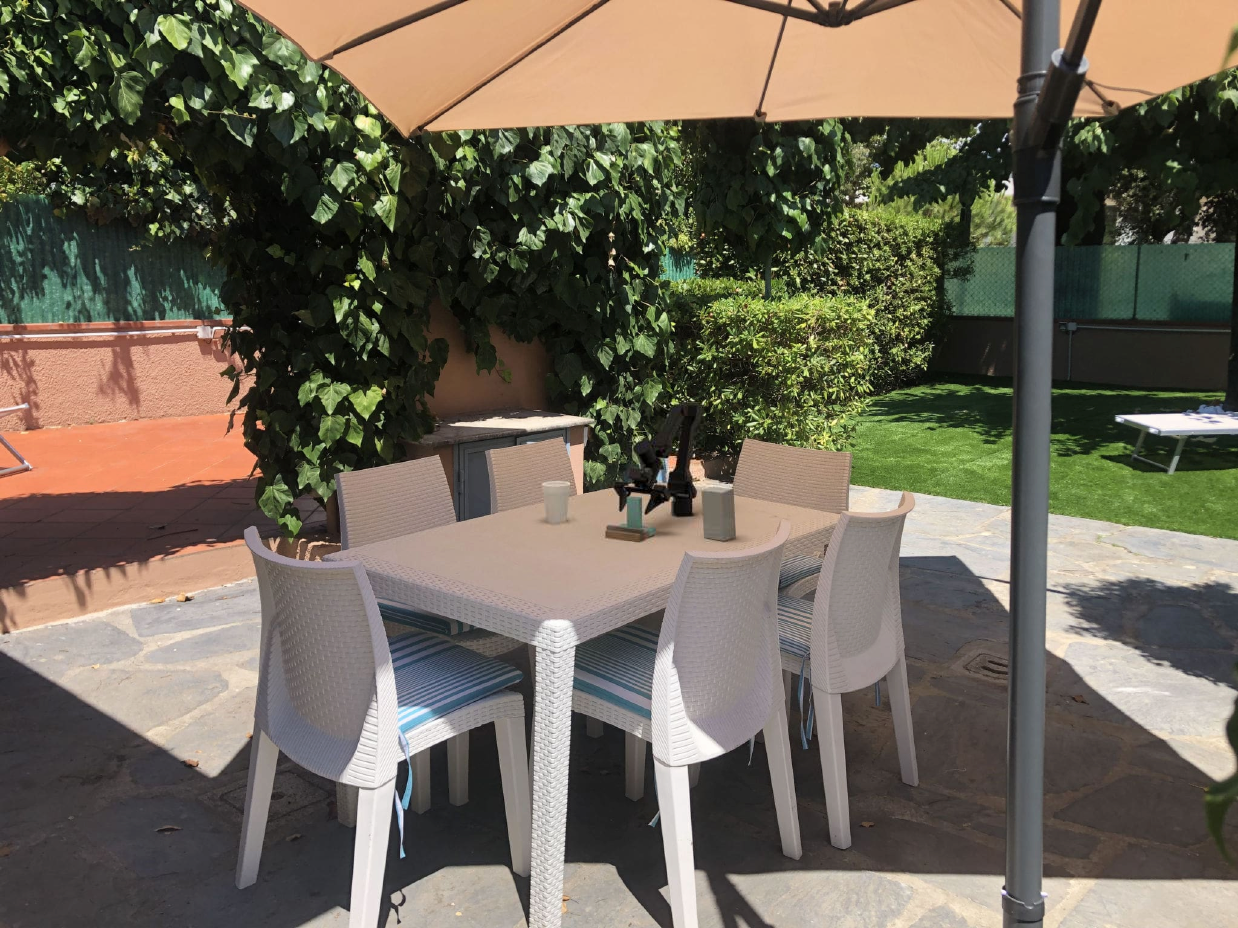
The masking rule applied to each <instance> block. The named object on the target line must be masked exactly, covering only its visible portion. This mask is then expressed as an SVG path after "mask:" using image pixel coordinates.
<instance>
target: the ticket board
mask: <svg viewBox="0 0 1238 928" xmlns="http://www.w3.org/2000/svg"><path fill="white" fill-rule="evenodd" d="M605 529H606V530H605V532H604V534H605V539H611V540H612V539H613V540H620V541H627V542H636V543H640V542H642V541H644V540H647V539H649V538H650V536H649V531H648V530H644V529H638V528H630V527H622V526H618V525H613V524H612V525H611V524H608V525H606V527H605ZM646 538H647V539H646Z"/></svg>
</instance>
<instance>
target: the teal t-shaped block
mask: <svg viewBox="0 0 1238 928" xmlns="http://www.w3.org/2000/svg"><path fill="white" fill-rule="evenodd" d="M617 526H622V527H630V528H638V529H644V530H648V531H649V537H652V536H654V535H656V532H657V531H656V528H657V527H652V526H644V525H643V497H639V496H638V497H637V496H631V495H630V496H629V497H627V504H626V523H621V524H619V525H617Z"/></svg>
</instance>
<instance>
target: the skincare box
mask: <svg viewBox="0 0 1238 928" xmlns="http://www.w3.org/2000/svg"><path fill="white" fill-rule="evenodd" d="M734 493H735V492H734V488H728V487H719V486H718V487H717V486H712V487H709V488H705V489H702V490H701V504H702V506H701V507H702V525H703V527H702V528H703V538H704V539H708V538H710V539H709V540H715V541H720V542H726V541H729V540H732V538H733V539H735V538H736V536H737V531H736V528H737V527H736V512H735V511H736V510H735V509H736V508H735V494H734Z"/></svg>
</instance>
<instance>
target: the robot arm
mask: <svg viewBox="0 0 1238 928" xmlns="http://www.w3.org/2000/svg"><path fill="white" fill-rule="evenodd" d="M703 415H704V406H702V404H701V403H700V402H696V401H695V402H693V401H692V402H691V401H681V403H673V404H672V405H671V407H670V411H669V413H668V415H667V417H666V419H665V422H664V423H663V425H662V427H661V428H660V430H659V432H658V433H657V434H656V435H654V436H652V438H651V439H650V438H649V437H642V440H639V441H637V442H636V443H635V444H634V445H633V447H632V450H633V453H634V455H635V456H636V458H637V459H638V462H639V463H641V464H642V467H641V468H635V467H629V469H628V474H627V479H629V480H631V483H632V485H629V484H628V482H627V481H624V480H615V481H614V482H613V484H612V488H613V490H614V492H615V493H616V495H617V496H618V499H619V501H618V511H619V513H622V512H623V510H624V509H625V507H626V506H627V497H630V496H631V494H632V493H634V494H641V495H648V496H649V495H650V497H649V500H648V502H647V504H646V506H645V509H644V515H645V516H647V515H648V514H649V513H651V512H652V511H653V510H654V509H656V508H657V507H659V506H660V505H661V504H665V503H667V502H668V503H669V502H670V500H671V498H672V500H671V508H670V509H671V510H670V513H671V514H672V515H674V516H675V517H688V516H689V517H690V516H695V513H693V502H694V501H693V499H696V497H697V495H698V490H697V488H696V486H695V484H694V483H693V482H694V477H693V475H692V473H691V470H690V467H691V460H692V453H693V445H694V440H695V432H696V428H697V427H698V425H699V424H700V423H701V421H702V417H703ZM679 428H680V432H679V439H678V447H677V454H676V460H675V462H676V463H675V466H674V467H675V468H674V469H673V470H671V471H669V473H668V478H667V482H666V484H658V479H657V478H658V476H659V473H660V472H661V471H664V470H665V468H664V467H665V466H664V464H663V461H662V460H661V459H663V460H664V459H665V460H666V459H669V457H670V456H671V455H672V451H673V448H674V447H673V446H674V445H673V439H674V438H675V436H676V434H677V432H678V430H679Z"/></svg>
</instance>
